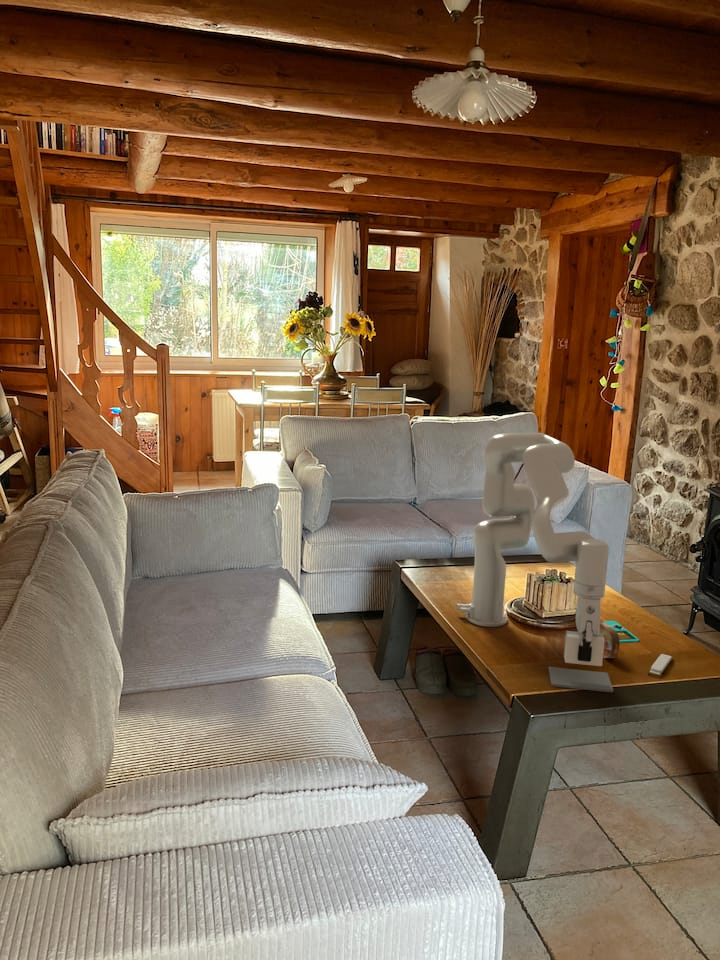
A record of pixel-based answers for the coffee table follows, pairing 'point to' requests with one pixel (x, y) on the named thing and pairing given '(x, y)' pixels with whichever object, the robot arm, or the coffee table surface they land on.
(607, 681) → the mat
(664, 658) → the harmonica
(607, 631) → the tin
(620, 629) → the handheld gaming console
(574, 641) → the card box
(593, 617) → the robot arm
